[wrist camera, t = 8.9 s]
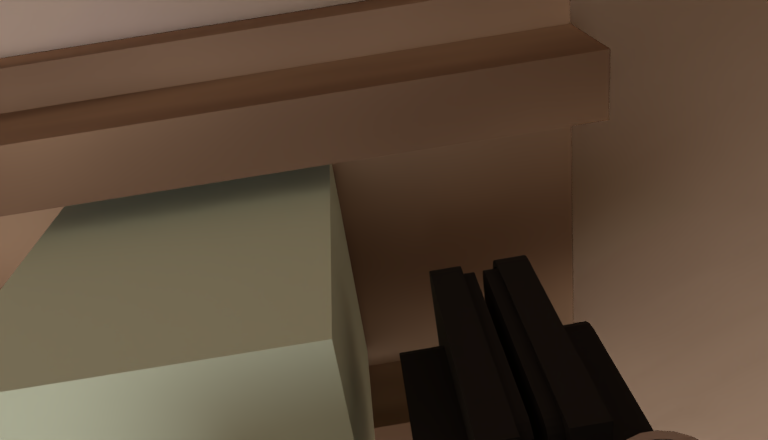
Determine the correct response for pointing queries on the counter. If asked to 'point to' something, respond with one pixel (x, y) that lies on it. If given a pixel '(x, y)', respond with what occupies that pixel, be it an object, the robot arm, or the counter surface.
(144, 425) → the block
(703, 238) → the counter surface
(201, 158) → the chute
